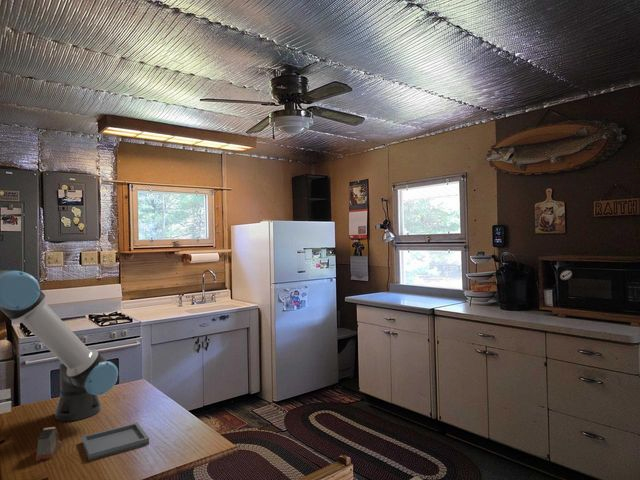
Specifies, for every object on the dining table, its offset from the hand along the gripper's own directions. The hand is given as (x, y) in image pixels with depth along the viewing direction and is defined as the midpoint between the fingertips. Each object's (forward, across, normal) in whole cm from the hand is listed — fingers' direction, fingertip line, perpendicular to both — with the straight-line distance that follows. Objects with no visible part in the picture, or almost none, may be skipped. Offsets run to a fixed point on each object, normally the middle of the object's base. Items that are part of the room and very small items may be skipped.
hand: (11, 399), depth 127 cm
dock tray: (+27, +6, -18) cm, 33 cm away
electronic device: (+10, 0, -19) cm, 21 cm away
